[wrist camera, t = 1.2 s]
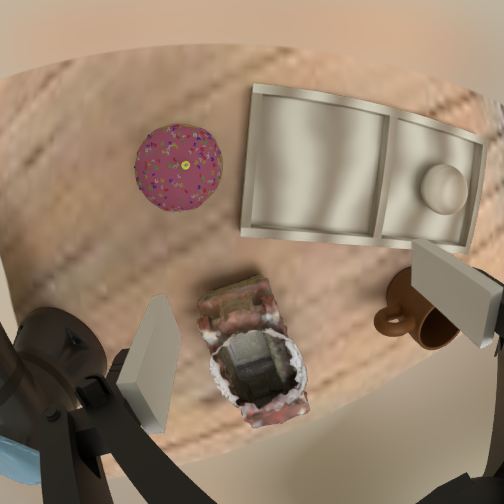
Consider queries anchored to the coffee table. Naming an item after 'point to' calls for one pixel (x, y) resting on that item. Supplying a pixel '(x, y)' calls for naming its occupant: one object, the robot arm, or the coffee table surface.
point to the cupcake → (178, 167)
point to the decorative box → (253, 352)
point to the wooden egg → (444, 189)
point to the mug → (413, 316)
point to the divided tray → (352, 172)
